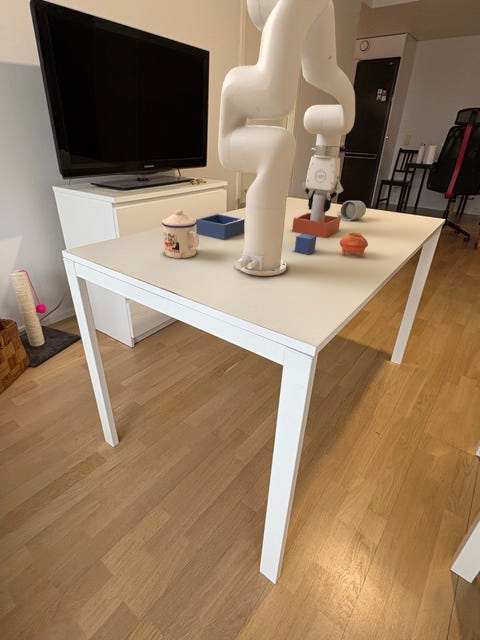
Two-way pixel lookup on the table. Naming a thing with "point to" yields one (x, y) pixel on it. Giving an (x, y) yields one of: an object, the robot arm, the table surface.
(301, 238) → the blue block
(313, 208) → the beverage can
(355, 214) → the ceramic mug
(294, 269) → the table surface
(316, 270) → the table surface
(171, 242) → the teacup with lid
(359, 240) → the pot
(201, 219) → the blue bin
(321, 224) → the terracotta bin
